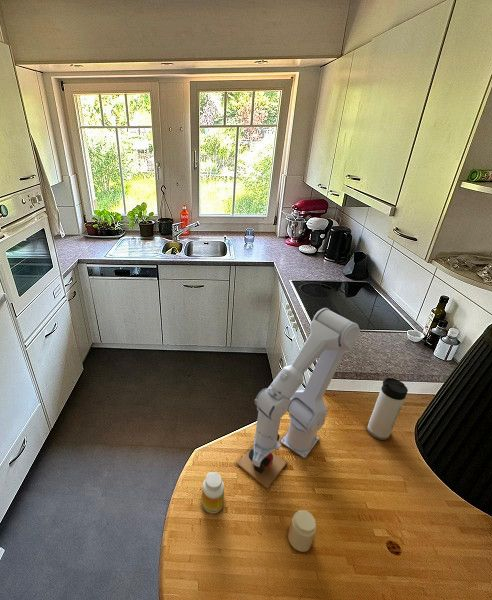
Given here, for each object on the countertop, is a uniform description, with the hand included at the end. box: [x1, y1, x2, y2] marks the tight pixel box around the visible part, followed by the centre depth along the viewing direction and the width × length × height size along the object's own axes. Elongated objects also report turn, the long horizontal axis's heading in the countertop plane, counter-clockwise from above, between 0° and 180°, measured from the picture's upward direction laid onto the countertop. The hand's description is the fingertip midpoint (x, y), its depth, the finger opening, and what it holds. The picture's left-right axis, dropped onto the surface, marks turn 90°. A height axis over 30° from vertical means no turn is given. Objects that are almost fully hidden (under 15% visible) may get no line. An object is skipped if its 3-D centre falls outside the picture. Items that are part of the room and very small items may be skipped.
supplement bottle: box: [201, 471, 225, 514], centre depth 80 cm, size 5×5×10 cm
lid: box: [264, 453, 273, 469], centre depth 91 cm, size 6×6×2 cm
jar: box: [287, 509, 317, 553], centre depth 73 cm, size 5×5×8 cm
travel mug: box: [366, 377, 409, 441], centre depth 97 cm, size 6×7×20 cm
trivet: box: [236, 445, 287, 489], centre depth 92 cm, size 10×10×1 cm
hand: (262, 461), depth 92 cm, fingers closed on lid, 6 cm apart
